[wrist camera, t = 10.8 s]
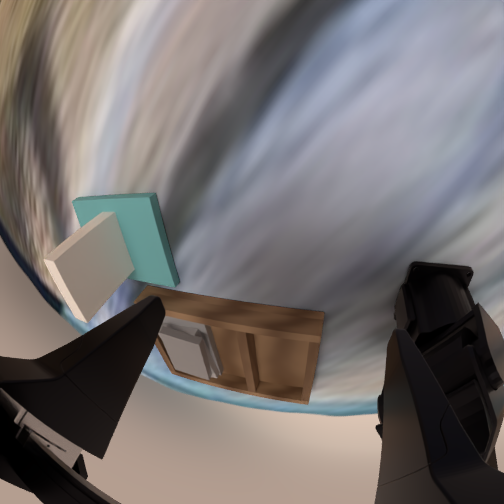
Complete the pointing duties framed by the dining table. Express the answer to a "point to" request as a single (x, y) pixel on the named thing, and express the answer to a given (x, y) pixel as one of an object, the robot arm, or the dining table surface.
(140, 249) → the mat
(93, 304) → the beige rectangular block
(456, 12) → the dining table surface
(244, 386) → the wooden divided tray
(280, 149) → the dining table surface
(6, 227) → the dining table surface
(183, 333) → the offcut stack
